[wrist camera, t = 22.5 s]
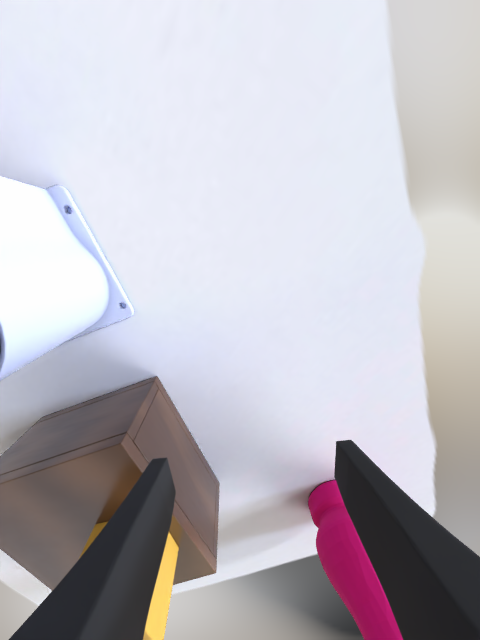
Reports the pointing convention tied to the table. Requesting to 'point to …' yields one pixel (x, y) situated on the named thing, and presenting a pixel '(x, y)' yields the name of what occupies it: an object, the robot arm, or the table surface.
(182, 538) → the box lid
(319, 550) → the pepper mill
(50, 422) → the box
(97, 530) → the mustard block
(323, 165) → the table surface
